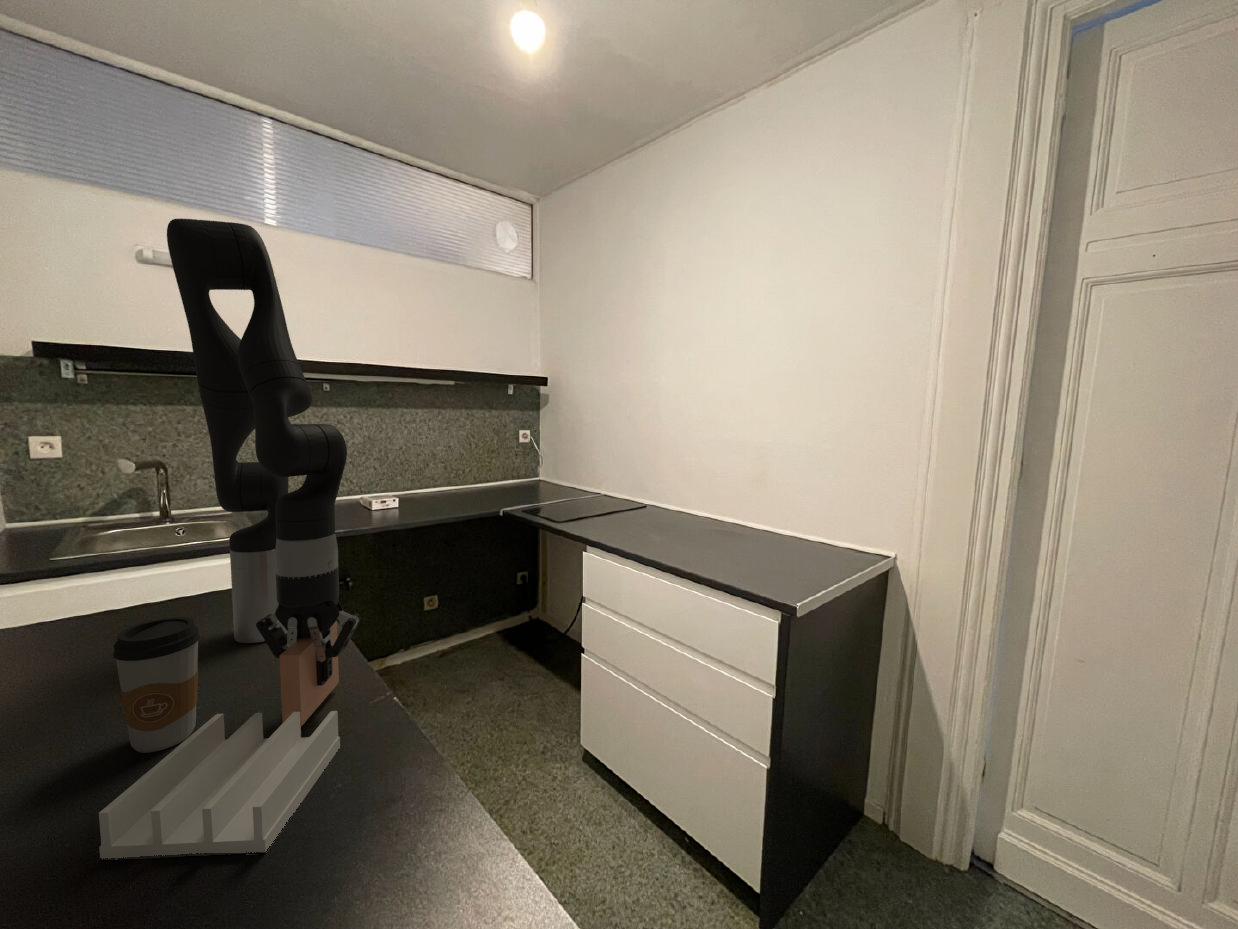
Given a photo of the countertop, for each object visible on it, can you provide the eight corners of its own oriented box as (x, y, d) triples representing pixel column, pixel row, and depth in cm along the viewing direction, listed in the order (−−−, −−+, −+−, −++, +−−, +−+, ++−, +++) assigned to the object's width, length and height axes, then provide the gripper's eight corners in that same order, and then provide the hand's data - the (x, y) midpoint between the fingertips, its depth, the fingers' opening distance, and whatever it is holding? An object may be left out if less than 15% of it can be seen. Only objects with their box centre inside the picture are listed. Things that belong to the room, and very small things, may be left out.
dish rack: (217, 751, 64) (215, 713, 64) (340, 747, 66) (339, 711, 65) (100, 861, 49) (96, 813, 48) (265, 853, 50) (263, 806, 49)
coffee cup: (108, 767, 61) (98, 648, 60) (134, 728, 68) (126, 621, 67) (195, 748, 65) (189, 635, 63) (212, 713, 72) (206, 611, 71)
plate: (322, 682, 79) (320, 620, 77) (338, 682, 79) (337, 620, 78) (282, 726, 68) (279, 655, 67) (301, 726, 68) (298, 655, 67)
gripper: (369, 558, 75) (372, 669, 77) (271, 558, 74) (275, 670, 76) (347, 575, 68) (351, 696, 70) (237, 575, 67) (243, 699, 69)
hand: (311, 682), depth 73 cm, fingers closed on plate, 2 cm apart
